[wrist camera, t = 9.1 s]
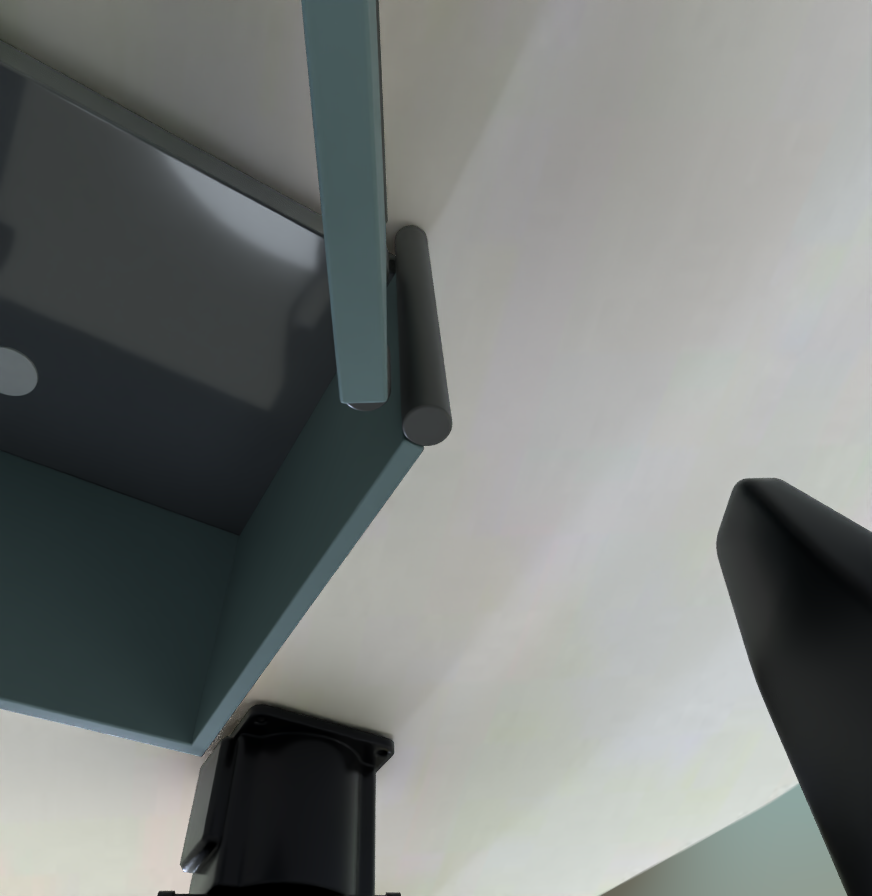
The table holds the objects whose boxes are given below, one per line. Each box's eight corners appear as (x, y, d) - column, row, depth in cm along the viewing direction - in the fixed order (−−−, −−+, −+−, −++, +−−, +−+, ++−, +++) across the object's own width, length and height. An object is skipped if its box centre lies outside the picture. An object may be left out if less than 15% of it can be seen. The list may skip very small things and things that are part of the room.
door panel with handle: (483, 257, 16) (533, 429, 11) (353, 260, 16) (339, 436, 11) (508, -327, 11) (635, -571, 5) (311, -330, 11) (237, -585, 5)
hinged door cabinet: (433, 234, 18) (462, 418, 11) (258, 523, 23) (210, 759, 16) (-77, -57, 14) (-486, -30, 7) (-145, 375, 19) (-415, 611, 12)
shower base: (408, 261, 18) (409, 282, 17) (252, 521, 23) (246, 549, 22) (-76, -4, 14) (-112, 2, 13) (-139, 377, 19) (-169, 403, 18)
